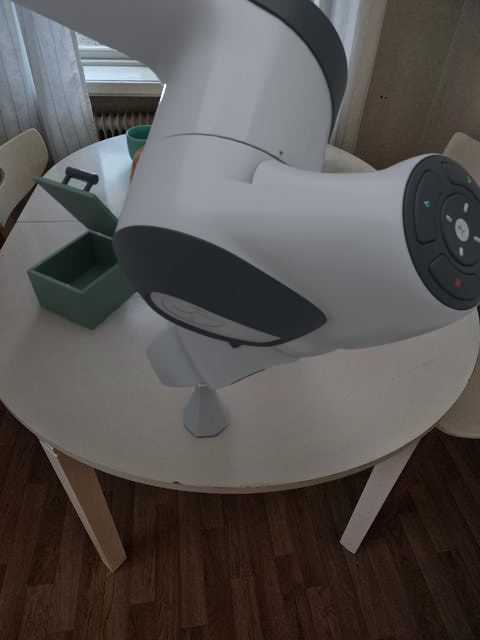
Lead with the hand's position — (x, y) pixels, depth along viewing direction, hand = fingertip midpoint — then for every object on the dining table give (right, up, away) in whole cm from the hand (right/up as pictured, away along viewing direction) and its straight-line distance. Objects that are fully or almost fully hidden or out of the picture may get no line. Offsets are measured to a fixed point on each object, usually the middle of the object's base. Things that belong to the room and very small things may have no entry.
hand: (228, 327), depth 46 cm
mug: (-26, +49, +88) cm, 104 cm away
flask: (-4, -15, +22) cm, 27 cm away
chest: (-29, +6, +43) cm, 52 cm away
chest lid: (-27, +20, +33) cm, 47 cm away
